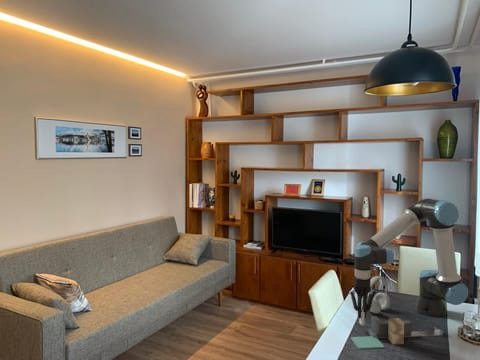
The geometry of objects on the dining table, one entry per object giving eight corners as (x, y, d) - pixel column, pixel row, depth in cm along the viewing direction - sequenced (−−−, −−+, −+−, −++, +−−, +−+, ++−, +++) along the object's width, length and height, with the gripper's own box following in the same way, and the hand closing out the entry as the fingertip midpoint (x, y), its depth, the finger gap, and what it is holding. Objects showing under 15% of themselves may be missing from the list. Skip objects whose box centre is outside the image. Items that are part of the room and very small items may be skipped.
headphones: (374, 318, 201) (374, 282, 200) (359, 313, 209) (360, 277, 207) (393, 310, 212) (394, 275, 211) (379, 305, 220) (379, 271, 218)
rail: (437, 331, 187) (437, 326, 187) (443, 335, 182) (443, 330, 182) (368, 333, 184) (368, 328, 184) (372, 338, 180) (372, 333, 180)
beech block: (398, 338, 179) (398, 318, 179) (403, 343, 174) (404, 322, 174) (388, 339, 179) (388, 318, 178) (393, 344, 174) (393, 323, 173)
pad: (375, 337, 180) (375, 336, 180) (384, 347, 171) (384, 346, 171) (350, 338, 180) (350, 337, 180) (358, 349, 170) (358, 347, 170)
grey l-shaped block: (401, 326, 191) (402, 315, 190) (411, 335, 182) (411, 323, 181) (371, 328, 190) (371, 316, 189) (379, 336, 181) (379, 324, 180)
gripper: (372, 274, 189) (371, 320, 191) (346, 275, 188) (346, 321, 190) (378, 279, 182) (377, 326, 183) (352, 279, 181) (351, 327, 182)
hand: (361, 323), depth 186 cm, fingers closed
